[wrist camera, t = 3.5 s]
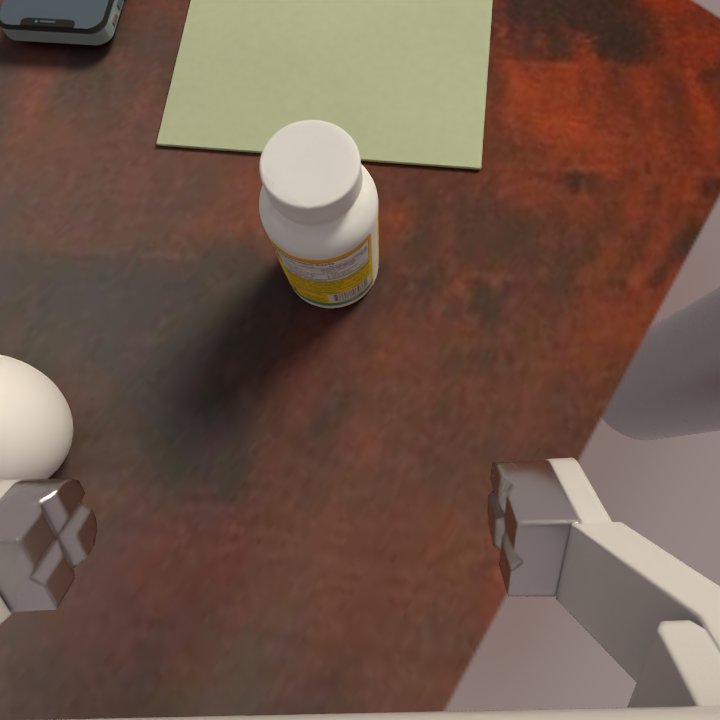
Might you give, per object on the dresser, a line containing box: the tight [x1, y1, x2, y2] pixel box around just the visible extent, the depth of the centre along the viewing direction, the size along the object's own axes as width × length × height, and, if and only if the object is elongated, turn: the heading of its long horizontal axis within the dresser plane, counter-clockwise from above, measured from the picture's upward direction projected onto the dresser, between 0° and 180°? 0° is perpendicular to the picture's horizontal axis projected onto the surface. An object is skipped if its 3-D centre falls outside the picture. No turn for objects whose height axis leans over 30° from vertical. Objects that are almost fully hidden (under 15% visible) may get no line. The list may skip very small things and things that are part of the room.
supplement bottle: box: [259, 120, 379, 308], centre depth 24 cm, size 5×5×10 cm
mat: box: [156, 0, 493, 170], centre depth 32 cm, size 20×16×1 cm
